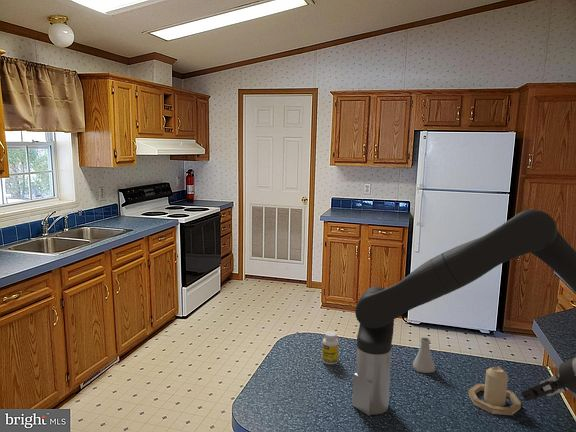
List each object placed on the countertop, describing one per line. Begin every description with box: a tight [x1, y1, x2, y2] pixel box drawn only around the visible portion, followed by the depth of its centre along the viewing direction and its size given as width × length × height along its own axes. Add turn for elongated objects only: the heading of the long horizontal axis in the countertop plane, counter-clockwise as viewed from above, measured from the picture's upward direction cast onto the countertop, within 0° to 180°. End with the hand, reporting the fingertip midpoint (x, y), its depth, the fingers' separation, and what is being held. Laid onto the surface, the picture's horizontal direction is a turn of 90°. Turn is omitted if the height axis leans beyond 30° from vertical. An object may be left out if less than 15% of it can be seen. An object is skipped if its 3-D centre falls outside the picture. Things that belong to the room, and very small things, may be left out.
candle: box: [483, 365, 509, 407], centre depth 119 cm, size 6×6×10 cm
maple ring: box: [468, 383, 522, 416], centre depth 120 cm, size 12×12×2 cm
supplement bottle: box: [321, 330, 339, 365], centre depth 141 cm, size 5×5×10 cm
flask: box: [412, 336, 436, 374], centre depth 137 cm, size 7×7×10 cm
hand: (534, 392), depth 109 cm, fingers open, 8 cm apart
